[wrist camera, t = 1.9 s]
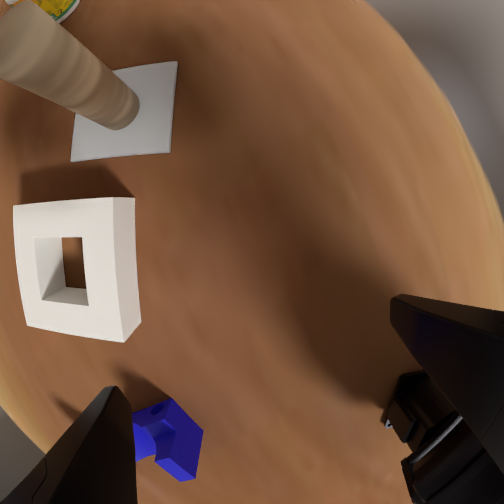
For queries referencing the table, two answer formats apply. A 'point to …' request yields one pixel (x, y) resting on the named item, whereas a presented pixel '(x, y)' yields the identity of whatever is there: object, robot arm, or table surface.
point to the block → (95, 264)
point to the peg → (61, 68)
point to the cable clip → (168, 438)
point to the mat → (143, 126)
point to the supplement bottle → (53, 7)
